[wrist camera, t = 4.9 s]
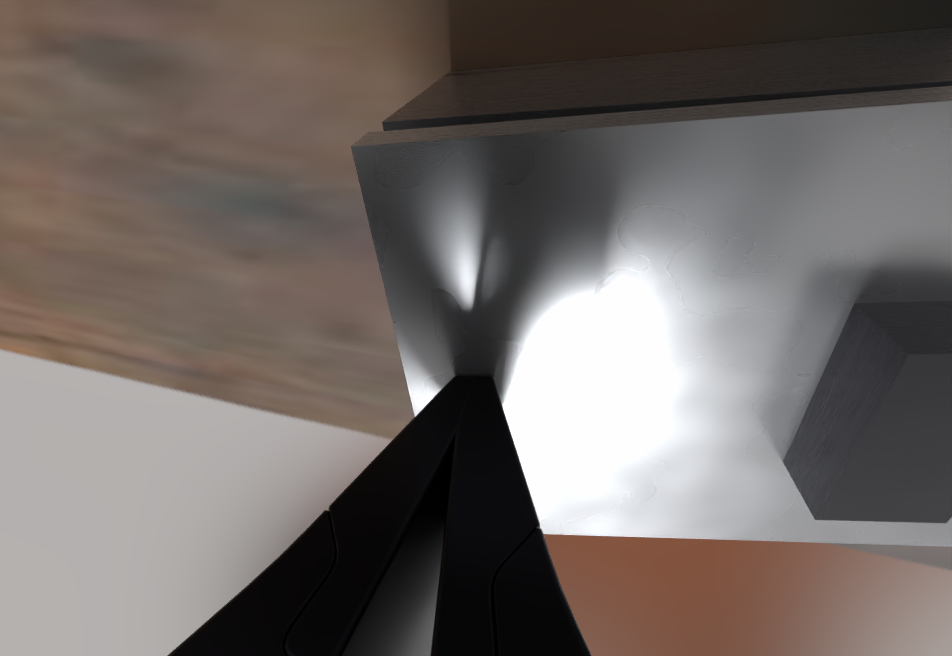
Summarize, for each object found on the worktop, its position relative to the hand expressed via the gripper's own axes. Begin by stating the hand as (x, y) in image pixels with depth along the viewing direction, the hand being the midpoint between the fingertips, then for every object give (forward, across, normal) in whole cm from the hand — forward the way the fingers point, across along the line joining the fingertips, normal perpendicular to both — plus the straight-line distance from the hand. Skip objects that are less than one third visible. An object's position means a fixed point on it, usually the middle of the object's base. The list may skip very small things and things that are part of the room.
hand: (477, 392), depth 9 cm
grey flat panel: (+1, -5, 0) cm, 5 cm away
